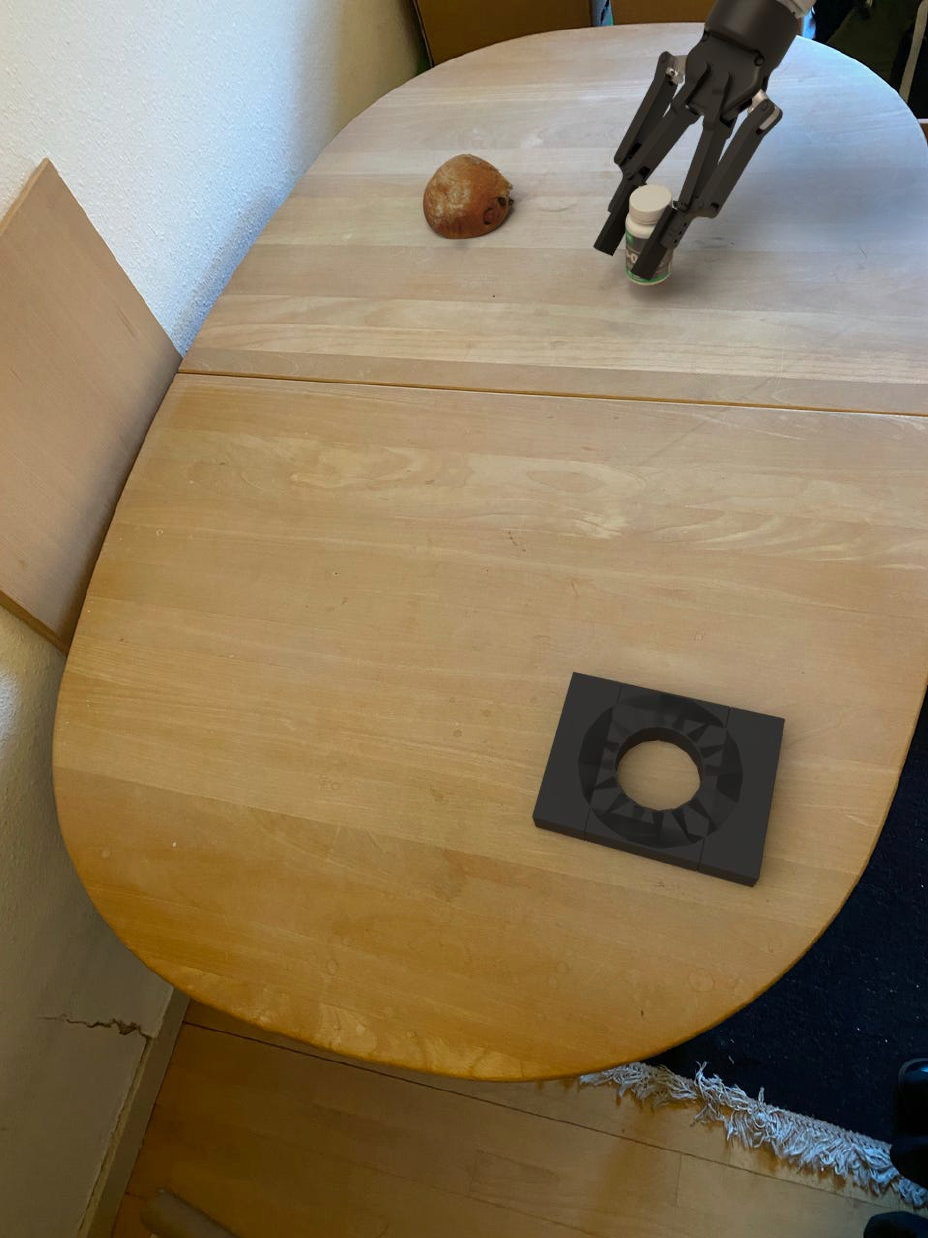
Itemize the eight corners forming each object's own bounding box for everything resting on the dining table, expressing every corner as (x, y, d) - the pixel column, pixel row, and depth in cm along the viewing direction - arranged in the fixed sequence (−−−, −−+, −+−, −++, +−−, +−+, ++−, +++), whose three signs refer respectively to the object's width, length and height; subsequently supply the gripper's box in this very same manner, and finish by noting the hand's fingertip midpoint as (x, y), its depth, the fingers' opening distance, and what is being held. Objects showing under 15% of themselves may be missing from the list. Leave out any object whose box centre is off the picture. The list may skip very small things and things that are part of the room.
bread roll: (465, 209, 105) (429, 152, 99) (532, 183, 98) (496, 121, 93) (436, 263, 101) (396, 206, 96) (503, 240, 94) (464, 178, 89)
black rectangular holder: (778, 732, 64) (785, 718, 61) (752, 888, 59) (758, 879, 56) (575, 686, 68) (573, 671, 66) (535, 827, 63) (531, 816, 61)
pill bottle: (616, 271, 87) (614, 197, 79) (652, 248, 87) (654, 173, 80) (645, 293, 84) (646, 220, 77) (682, 270, 85) (687, 195, 78)
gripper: (865, 53, 70) (704, 313, 81) (709, -11, 78) (583, 234, 89) (833, 13, 64) (665, 298, 76) (670, -51, 72) (541, 215, 84)
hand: (621, 263), depth 82 cm, fingers closed on pill bottle, 5 cm apart
